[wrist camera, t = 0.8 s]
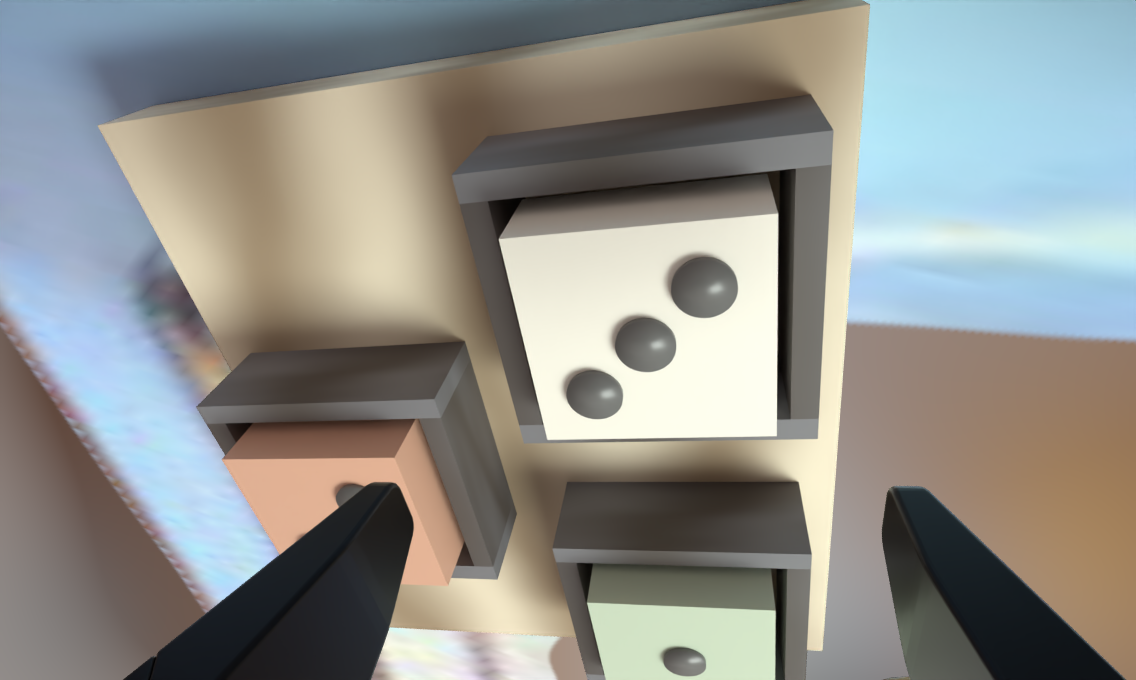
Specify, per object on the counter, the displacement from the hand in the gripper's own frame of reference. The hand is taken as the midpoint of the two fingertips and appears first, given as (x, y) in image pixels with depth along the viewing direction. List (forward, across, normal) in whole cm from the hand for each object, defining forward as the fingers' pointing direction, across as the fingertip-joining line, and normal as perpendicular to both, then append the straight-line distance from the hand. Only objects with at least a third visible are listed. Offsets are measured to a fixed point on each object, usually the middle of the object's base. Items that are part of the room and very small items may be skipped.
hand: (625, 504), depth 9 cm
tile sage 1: (+6, 0, +11) cm, 13 cm away
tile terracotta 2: (+6, +9, +6) cm, 12 cm away
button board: (+10, +4, +6) cm, 12 cm away
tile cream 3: (+6, 0, 0) cm, 6 cm away
